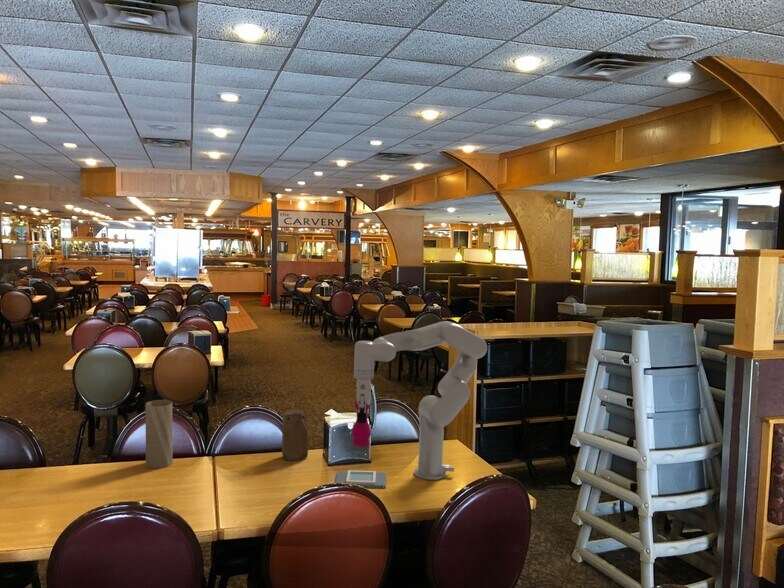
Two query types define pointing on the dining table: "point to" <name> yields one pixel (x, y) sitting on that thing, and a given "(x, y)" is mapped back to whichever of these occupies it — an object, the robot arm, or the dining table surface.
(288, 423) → the block
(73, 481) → the dining table surface
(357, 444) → the pepper mill
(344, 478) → the grey panel
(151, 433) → the tube
